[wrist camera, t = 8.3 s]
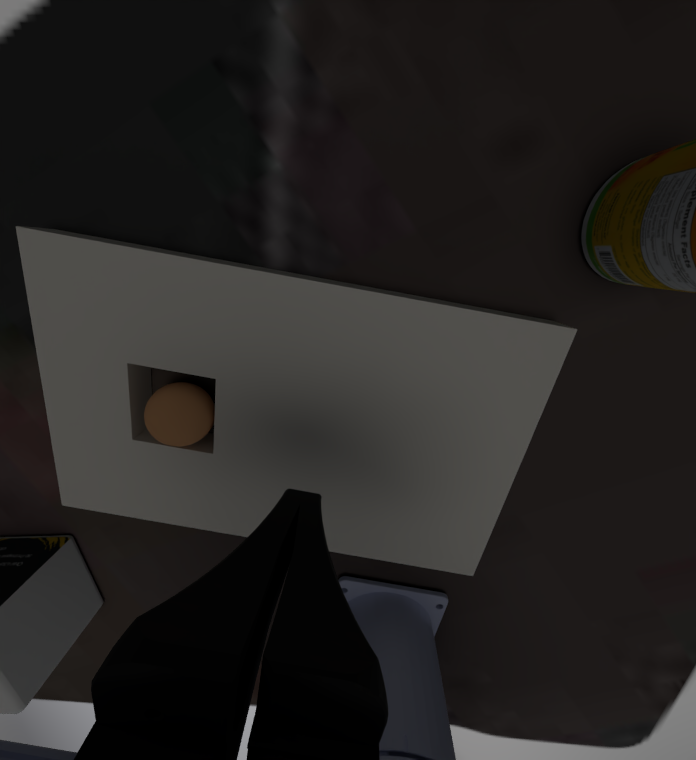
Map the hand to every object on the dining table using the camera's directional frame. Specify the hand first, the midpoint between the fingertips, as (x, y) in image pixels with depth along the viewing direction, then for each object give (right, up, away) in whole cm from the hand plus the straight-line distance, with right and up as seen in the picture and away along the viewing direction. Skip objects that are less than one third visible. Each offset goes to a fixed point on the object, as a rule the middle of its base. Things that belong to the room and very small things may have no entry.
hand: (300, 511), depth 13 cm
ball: (-7, +3, +5) cm, 10 cm away
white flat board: (-2, +3, +7) cm, 8 cm away
